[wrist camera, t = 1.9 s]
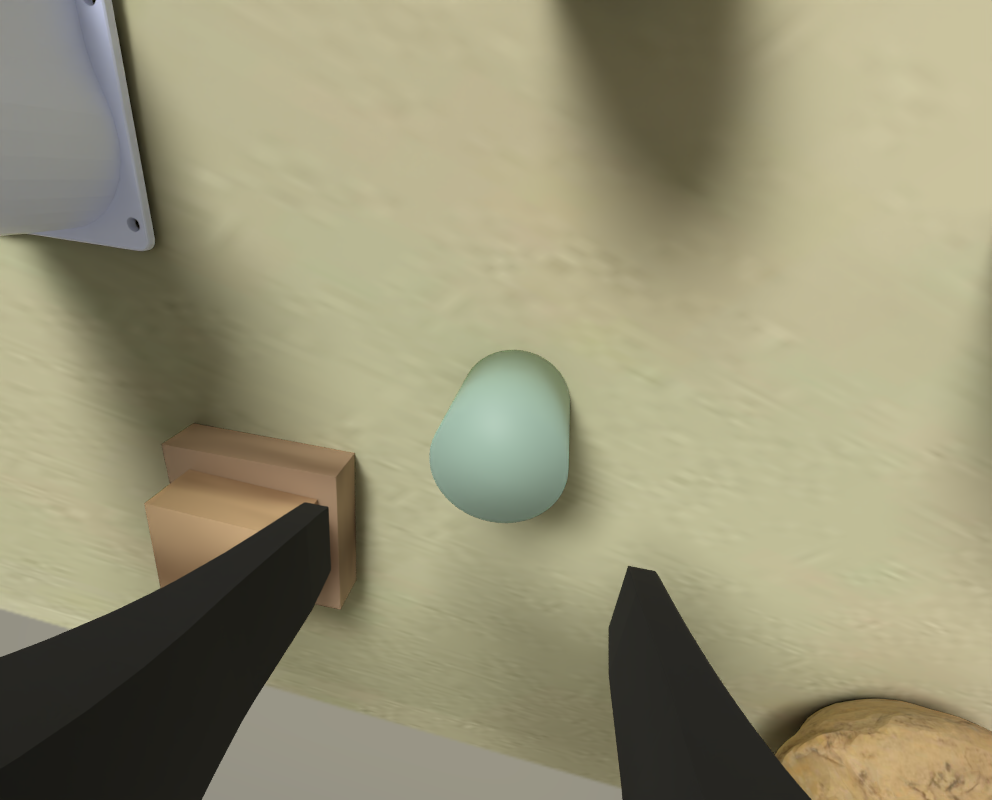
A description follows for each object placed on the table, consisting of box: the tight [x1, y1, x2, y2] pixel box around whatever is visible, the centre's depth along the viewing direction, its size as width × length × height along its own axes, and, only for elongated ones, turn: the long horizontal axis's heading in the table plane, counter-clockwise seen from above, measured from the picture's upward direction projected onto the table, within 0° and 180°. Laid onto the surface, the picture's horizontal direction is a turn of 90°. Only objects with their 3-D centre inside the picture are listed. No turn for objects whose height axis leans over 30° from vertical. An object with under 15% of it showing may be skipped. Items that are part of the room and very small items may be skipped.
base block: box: [161, 423, 356, 609], centre depth 24 cm, size 8×8×2 cm
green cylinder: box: [430, 350, 570, 523], centre depth 18 cm, size 4×4×5 cm
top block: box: [144, 469, 317, 588], centre depth 21 cm, size 6×6×2 cm
